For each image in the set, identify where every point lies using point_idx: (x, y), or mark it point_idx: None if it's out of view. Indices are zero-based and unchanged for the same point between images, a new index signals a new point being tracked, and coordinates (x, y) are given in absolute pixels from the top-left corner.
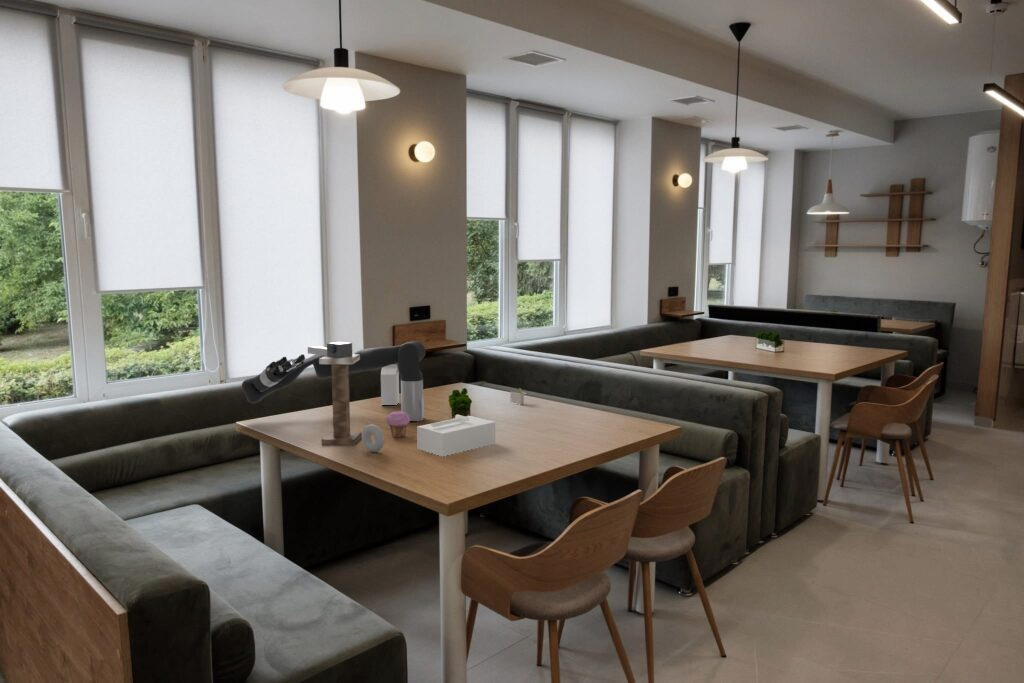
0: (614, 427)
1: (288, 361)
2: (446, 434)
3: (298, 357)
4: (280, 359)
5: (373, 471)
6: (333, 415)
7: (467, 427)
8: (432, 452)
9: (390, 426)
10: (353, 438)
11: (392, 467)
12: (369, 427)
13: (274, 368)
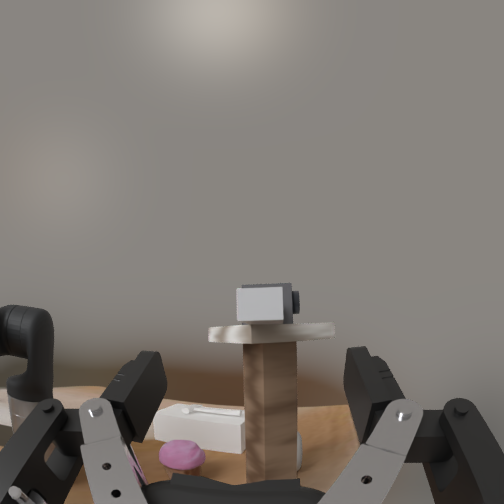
0: (96, 395)
1: (185, 474)
2: None
3: (134, 392)
4: (383, 384)
5: (348, 438)
6: (295, 474)
7: (215, 408)
8: None
9: (196, 469)
10: None
11: (323, 439)
12: (299, 434)
13: (439, 473)
